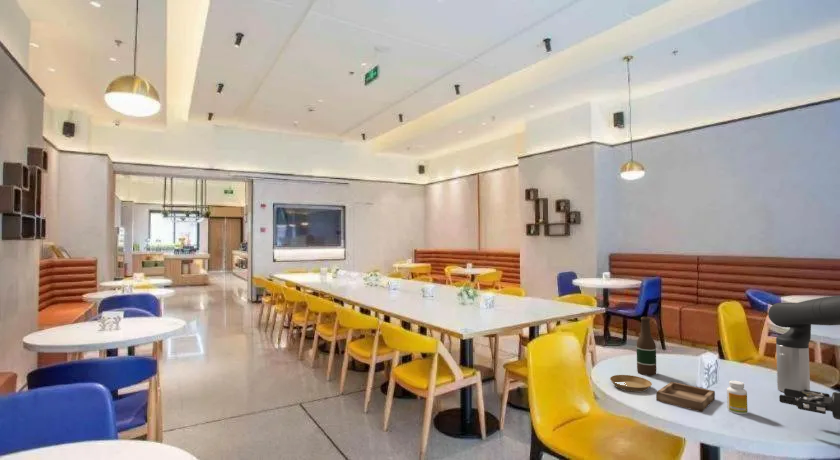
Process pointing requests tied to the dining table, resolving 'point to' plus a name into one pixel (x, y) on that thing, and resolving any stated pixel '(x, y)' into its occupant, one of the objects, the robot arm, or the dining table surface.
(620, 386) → the plant saucer
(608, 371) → the dining table surface
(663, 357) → the dining table surface
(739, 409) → the supplement bottle
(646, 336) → the beer bottle
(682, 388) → the serving tray
